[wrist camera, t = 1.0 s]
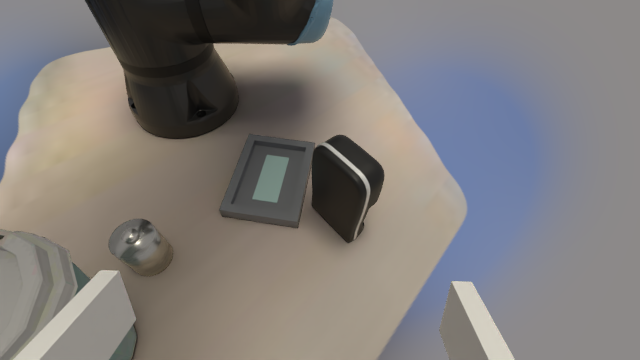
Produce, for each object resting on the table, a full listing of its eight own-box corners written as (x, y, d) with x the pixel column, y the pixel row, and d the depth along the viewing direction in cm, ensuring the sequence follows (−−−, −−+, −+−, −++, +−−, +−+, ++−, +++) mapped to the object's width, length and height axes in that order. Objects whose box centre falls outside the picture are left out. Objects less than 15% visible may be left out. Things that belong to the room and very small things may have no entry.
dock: (250, 141, 43) (249, 133, 42) (314, 150, 43) (314, 142, 41) (222, 216, 36) (219, 209, 35) (297, 227, 36) (297, 221, 34)
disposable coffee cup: (121, 438, 24) (-66, 477, 12) (-3, 410, 25) (-296, 419, 13) (179, 300, 31) (93, 234, 18) (77, 281, 31) (-69, 205, 19)
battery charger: (372, 226, 36) (395, 166, 27) (349, 246, 34) (365, 189, 25) (332, 188, 39) (340, 121, 30) (309, 205, 37) (310, 140, 28)
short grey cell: (144, 237, 34) (119, 212, 30) (179, 243, 34) (159, 219, 29) (126, 272, 32) (96, 251, 27) (163, 279, 32) (139, 258, 27)
